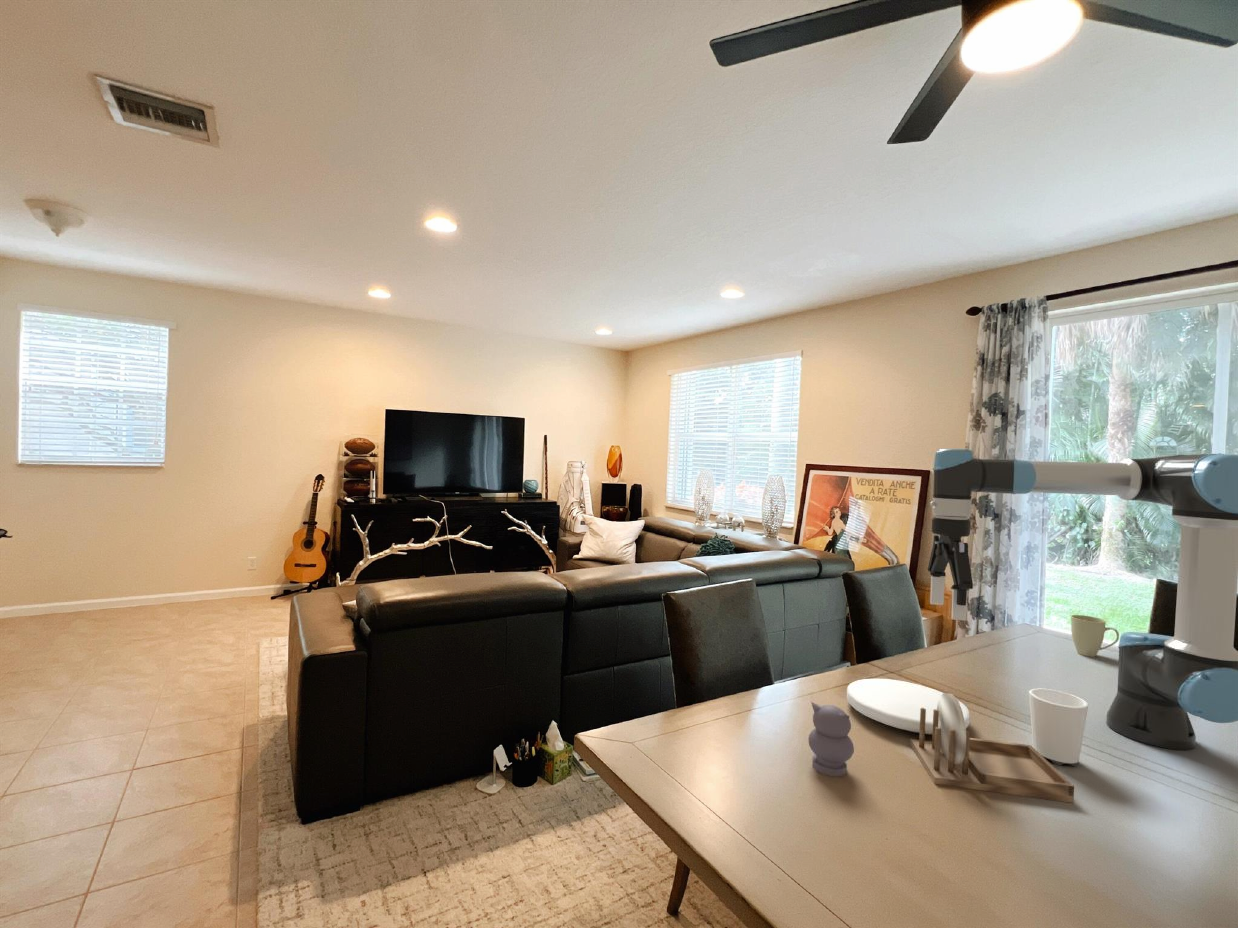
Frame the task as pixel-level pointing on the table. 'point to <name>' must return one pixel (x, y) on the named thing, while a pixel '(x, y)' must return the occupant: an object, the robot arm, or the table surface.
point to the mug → (1089, 634)
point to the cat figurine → (830, 740)
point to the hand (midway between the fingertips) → (947, 611)
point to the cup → (1057, 725)
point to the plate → (897, 703)
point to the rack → (984, 759)
